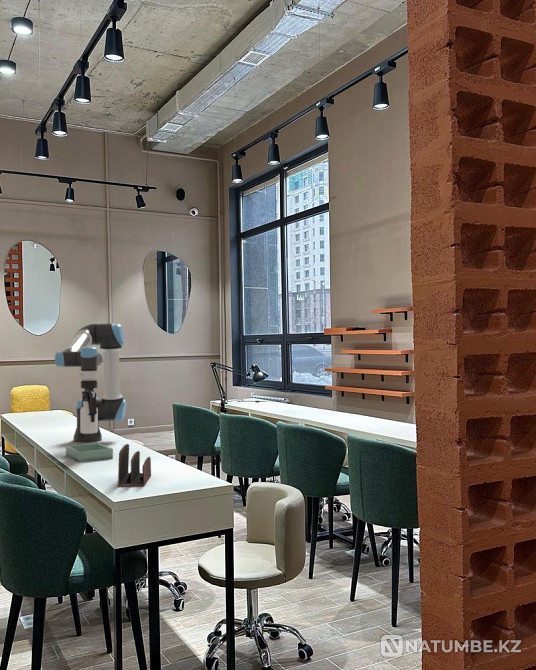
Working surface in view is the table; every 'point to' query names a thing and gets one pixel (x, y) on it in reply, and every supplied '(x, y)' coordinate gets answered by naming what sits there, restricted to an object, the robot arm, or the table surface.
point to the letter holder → (132, 469)
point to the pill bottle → (87, 420)
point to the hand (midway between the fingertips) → (89, 428)
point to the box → (89, 452)
